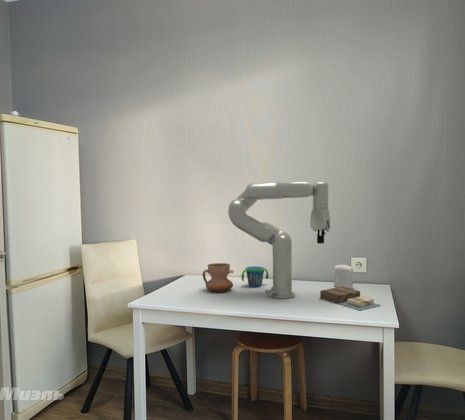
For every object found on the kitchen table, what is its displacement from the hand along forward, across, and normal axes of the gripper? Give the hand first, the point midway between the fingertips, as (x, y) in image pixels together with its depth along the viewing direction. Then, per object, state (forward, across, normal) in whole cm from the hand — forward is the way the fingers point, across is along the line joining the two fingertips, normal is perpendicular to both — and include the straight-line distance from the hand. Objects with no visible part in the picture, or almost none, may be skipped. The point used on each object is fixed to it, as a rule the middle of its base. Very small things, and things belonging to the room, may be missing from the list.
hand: (320, 243), depth 217 cm
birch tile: (+26, +22, +5) cm, 34 cm away
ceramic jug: (+27, -40, -37) cm, 61 cm away
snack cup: (+27, -37, -15) cm, 48 cm away
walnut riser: (+27, +9, +4) cm, 29 cm away
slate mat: (+27, +22, +4) cm, 35 cm away
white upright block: (+27, -7, +23) cm, 36 cm away
